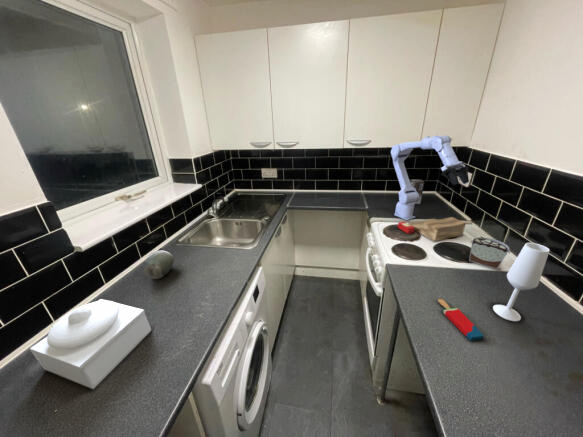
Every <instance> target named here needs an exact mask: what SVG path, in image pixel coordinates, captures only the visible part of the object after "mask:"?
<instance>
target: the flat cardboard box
mask: <svg viewBox="0 0 583 437" xmlns="http://www.w3.org/2000/svg"><path fill="white" fill-rule="evenodd" d="M407 224H409V225H411V226H413V227H415V228H414V232H417V233H419V234H421V235H423V236H424V237H426V238H428V239H429V240H431V241H432V242H439V241H443V240H449V239H451V238H456V237H460V236H463V235H464V231H465V228H466V224H467V222H465V221H462V220H460V219H458V218H455V217H453V216H449V217H445V218H439V219H436V218H429V219H424V220H419V221H414V222H408V223H407Z"/></svg>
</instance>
